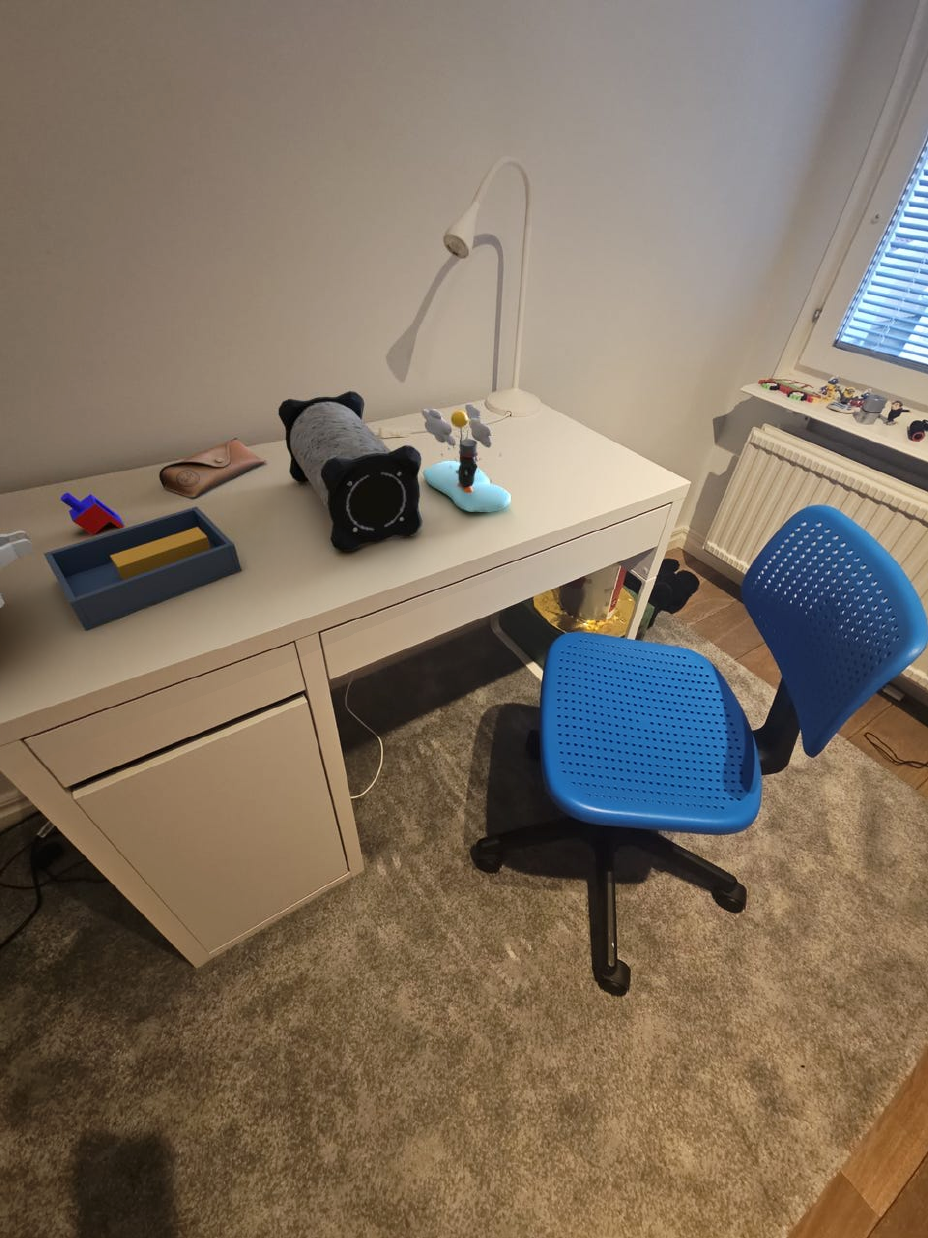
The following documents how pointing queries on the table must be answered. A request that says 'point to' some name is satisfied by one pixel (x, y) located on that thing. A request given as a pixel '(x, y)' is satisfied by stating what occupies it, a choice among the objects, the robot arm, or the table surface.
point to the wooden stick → (160, 553)
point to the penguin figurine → (464, 463)
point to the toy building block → (90, 513)
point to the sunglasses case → (208, 469)
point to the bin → (109, 597)
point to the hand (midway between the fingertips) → (30, 540)
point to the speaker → (352, 470)
